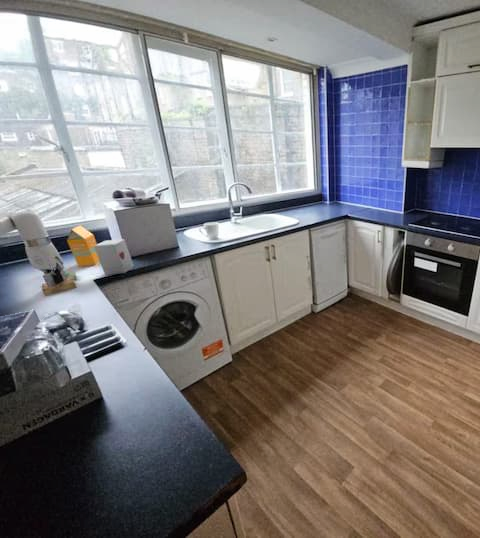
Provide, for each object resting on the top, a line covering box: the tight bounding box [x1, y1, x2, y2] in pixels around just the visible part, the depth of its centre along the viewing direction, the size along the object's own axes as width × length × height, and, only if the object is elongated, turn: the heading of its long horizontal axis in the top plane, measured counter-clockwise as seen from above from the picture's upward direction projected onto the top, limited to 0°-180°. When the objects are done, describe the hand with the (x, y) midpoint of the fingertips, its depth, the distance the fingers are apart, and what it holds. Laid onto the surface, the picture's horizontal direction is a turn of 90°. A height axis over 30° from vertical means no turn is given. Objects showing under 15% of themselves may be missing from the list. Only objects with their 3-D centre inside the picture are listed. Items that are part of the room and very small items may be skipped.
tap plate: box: [40, 277, 77, 296], centre depth 129 cm, size 11×11×3 cm
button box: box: [63, 270, 78, 282], centre depth 136 cm, size 10×7×4 cm
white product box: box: [94, 238, 135, 276], centre depth 144 cm, size 9×9×15 cm
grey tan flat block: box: [42, 269, 67, 286], centre depth 127 cm, size 7×2×5 cm, turn 175°
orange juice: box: [66, 224, 100, 268], centre depth 154 cm, size 8×9×20 cm
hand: (57, 281), depth 128 cm, fingers closed on grey tan flat block
